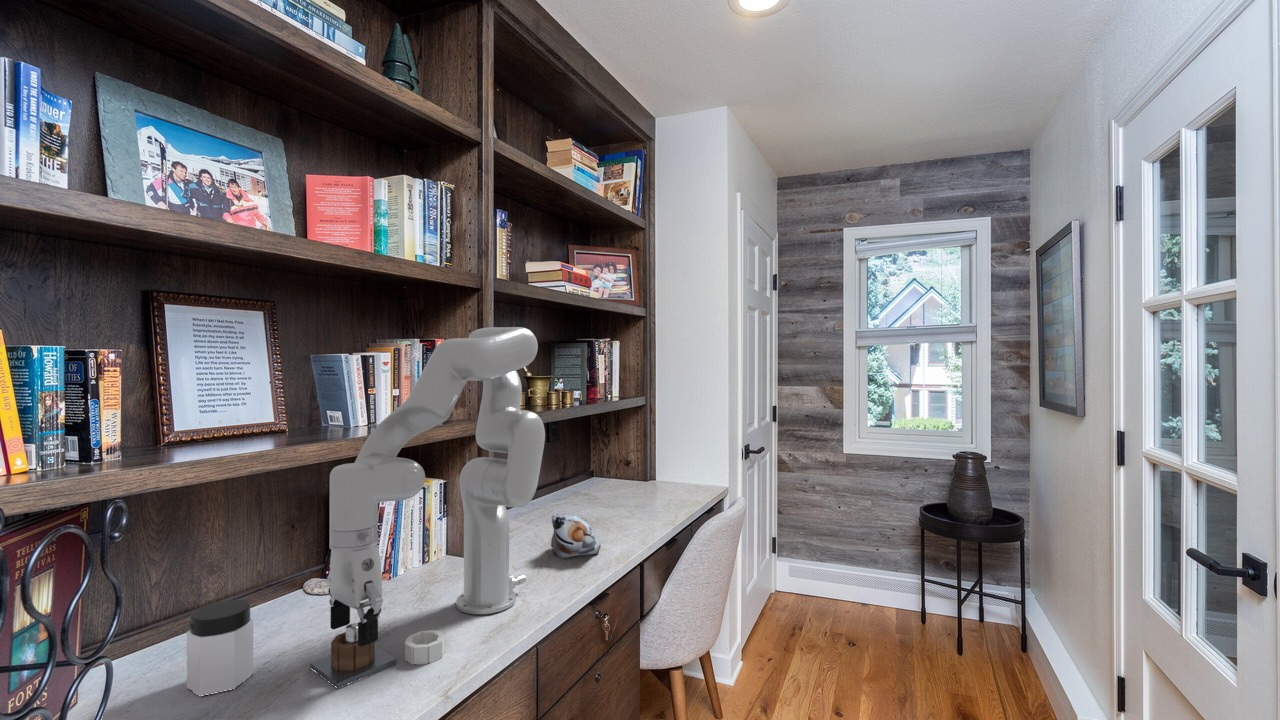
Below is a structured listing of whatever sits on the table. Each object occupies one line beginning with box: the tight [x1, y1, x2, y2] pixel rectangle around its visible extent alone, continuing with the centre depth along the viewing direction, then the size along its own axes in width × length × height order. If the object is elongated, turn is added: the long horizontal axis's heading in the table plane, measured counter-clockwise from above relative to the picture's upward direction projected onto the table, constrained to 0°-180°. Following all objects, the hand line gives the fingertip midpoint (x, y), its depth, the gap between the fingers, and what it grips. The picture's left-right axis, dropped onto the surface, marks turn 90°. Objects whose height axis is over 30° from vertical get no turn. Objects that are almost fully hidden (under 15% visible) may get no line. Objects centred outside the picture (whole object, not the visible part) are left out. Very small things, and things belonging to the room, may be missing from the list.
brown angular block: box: [330, 631, 376, 671], centre depth 103 cm, size 6×6×4 cm
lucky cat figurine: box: [550, 513, 602, 560], centre depth 161 cm, size 15×12×14 cm
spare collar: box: [404, 629, 446, 665], centre depth 107 cm, size 6×6×3 cm
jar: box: [186, 599, 254, 697], centre depth 98 cm, size 9×8×12 cm
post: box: [309, 622, 397, 689], centre depth 103 cm, size 10×10×7 cm
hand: (353, 634), depth 103 cm, fingers open, 9 cm apart
